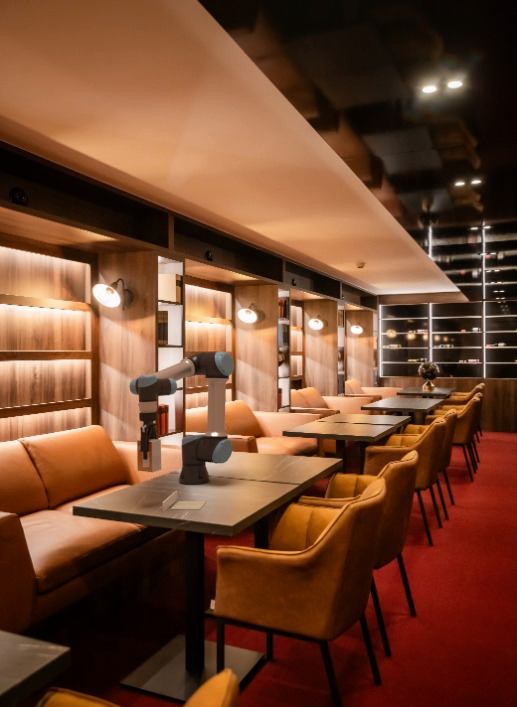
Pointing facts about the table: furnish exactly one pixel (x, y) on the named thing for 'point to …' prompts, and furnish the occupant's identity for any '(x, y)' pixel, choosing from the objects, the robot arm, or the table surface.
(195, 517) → the table surface
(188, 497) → the table surface
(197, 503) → the mat
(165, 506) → the fence
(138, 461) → the small box
